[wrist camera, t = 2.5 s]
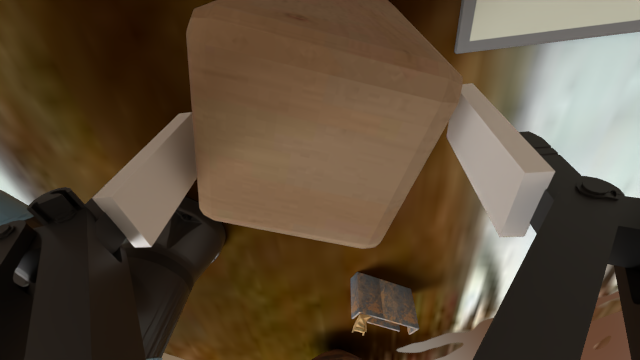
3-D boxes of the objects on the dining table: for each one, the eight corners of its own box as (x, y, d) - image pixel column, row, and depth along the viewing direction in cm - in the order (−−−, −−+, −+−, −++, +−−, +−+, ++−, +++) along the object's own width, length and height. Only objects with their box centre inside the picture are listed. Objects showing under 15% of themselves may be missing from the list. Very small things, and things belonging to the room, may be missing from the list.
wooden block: (282, -31, 24) (168, 0, 8) (395, 0, 25) (486, 80, 9) (270, 83, 30) (192, 224, 14) (360, 105, 31) (379, 259, 15)
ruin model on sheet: (349, 278, 53) (350, 332, 45) (357, 269, 51) (359, 325, 43) (401, 294, 55) (410, 348, 47) (410, 286, 53) (421, 342, 46)
